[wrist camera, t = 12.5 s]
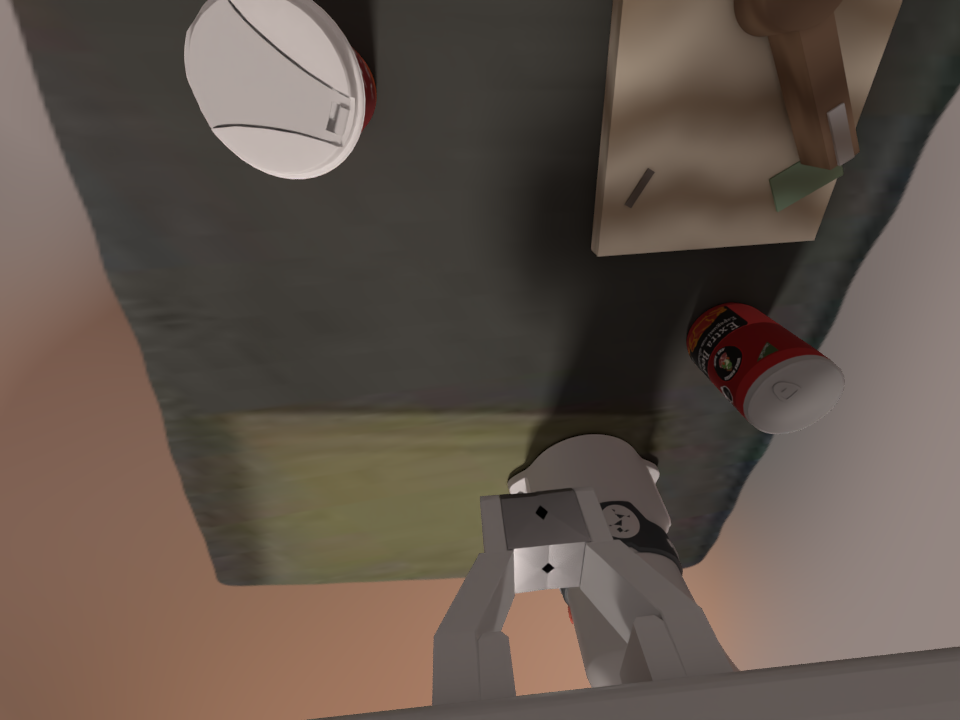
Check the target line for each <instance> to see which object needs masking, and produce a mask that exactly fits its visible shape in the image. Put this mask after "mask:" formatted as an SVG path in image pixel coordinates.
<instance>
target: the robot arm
mask: <svg viewBox="0 0 960 720" xmlns="http://www.w3.org/2000/svg"><path fill="white" fill-rule="evenodd" d="M659 475H660V473H659V471H658V468H657V466H656V465H655V464H653V463H652V462H650V461H647V460H645V459H642V458H641V457H640V456H639V455H638V453H637V452H636V451H635V449H634V448H633V447H632V446H631V445H629V444H628V443H627V442H625V441H623V440H621V439H619V438H616V437H613V436H608V435H601V434H590V435H582V436H577V437H573V438H569V439H566V440H564V441H561V442H559V443H557V444H555V445H553V446H551V447H550V448H548V449H547V450H545V451H544V452H543V453H542V454H541V455H539V456H538V457H537V458H536V460H535V461H534V462H533V463H532V464H531V465H530V466H529V467H528V468H527V469H526V470H524V471H522V472H520V473H518V474H517V475H515V476H513V477H512V478H511V479H510V480H509V481H508V488H509V491H510V494H503V495H492V496H480V506H481V519H482V532H483V544H484V553H479V555H478V557H477V559H476V560H475V562H474V564H473V566H472V568H471V570H470V571H469V573H468V575H467V577H466V579H465V580H464V582H463V584H462V586H461V588H460V590H459V592H458V594H457V595H456V597H455V599H454V601H453V602H452V604H451V606H450V608H449V610H448V612H447V614H446V615H445V617H444V619H443V621H442V623H441V624H440V626H439V628H438V630H437V632H436V634H435V635H434V649H433V696H432V706H424V707H416V708H407V709H397V710H389V711H380V712H371V713H362V714H353V715H344V716H336V717H327V718H318V719H309V720H960V647H952V648H942V649H934V650H924V651H915V652H907V653H897V654H888V655H880V656H871V657H861V658H852V659H844V660H835V661H826V662H817V663H809V664H799V665H790V666H782V667H773V668H763V669H755V670H746V671H739V669H738V668H737V667H736V666H735V664H734V663H733V662H732V661H731V659H730V658H729V657H728V655H727V654H726V653H725V651H724V649H723V648H722V646H721V645H720V643H719V642H718V640H717V638H716V636H715V634H714V632H713V630H712V628H711V626H710V624H709V622H708V620H707V618H706V616H705V614H704V612H703V610H702V608H701V607H699V606H698V605H697V604H696V602H695V600H694V598H693V596H692V595H691V593H690V591H689V589H688V587H687V585H686V583H685V581H684V579H683V577H682V572H683V570H682V566H681V563H680V561H679V558H678V554H677V552H676V550H675V548H674V546H673V544H672V543H671V542H670V540H669V538H668V536H667V532H668V529H669V526H671V520H670V517H669V515H668V512H667V510H666V508H665V505H664V503H663V501H662V499H661V496H660V494H659V492H658V490H657V487H656V485H655V483H656V481H657V480H658V478H659ZM554 588H559V589H560V591H561V594H562V595H563V598H564V600H565V602H566V603H567V604H568V612H569V617H570V621H571V623H572V624H574V626H575V631H576V634H577V639H578V643H579V647H580V651H581V655H582V659H583V663H584V667H585V671H586V675H587V678H588V680H589V683H590V685H591V687H592V688H584V689H576V690H567V691H558V692H549V693H540V694H531V695H522V696H516V692H515V685H514V677H513V669H512V662H511V654H510V646H509V638H508V636H506V635H505V634H504V633H503V632H501V630H502V627H503V624H504V622H505V619H506V617H507V614H508V611H509V609H510V606H511V604H512V601H513V599H514V596H515V593H521V592H528V591H536V590H544V589H554Z"/></svg>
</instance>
